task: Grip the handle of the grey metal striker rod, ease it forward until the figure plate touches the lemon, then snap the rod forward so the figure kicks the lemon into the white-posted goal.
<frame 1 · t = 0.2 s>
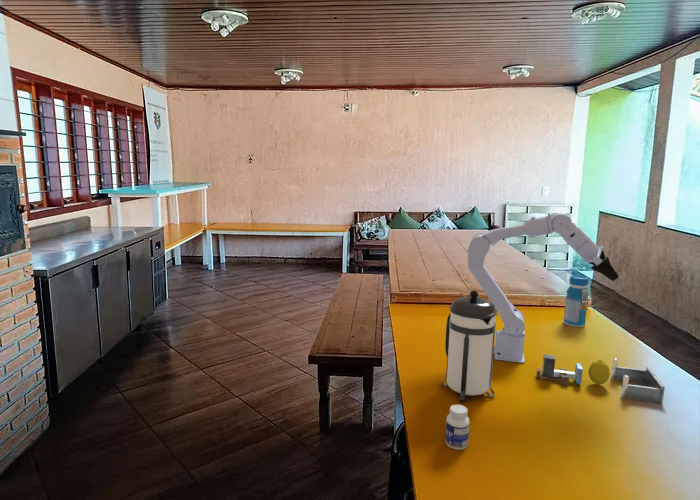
hand: (613, 275, 146), 31 cm above the table, tool tilted 45°, fingers open, 7 cm apart
coffee press: (463, 390, 137), on the table
striker rod: (561, 368, 144), point 4 cm above the table, slide at 0.0 cm
pill bottle: (456, 444, 111), on the table
goal: (635, 390, 139), on the table
beverage bottle: (574, 324, 196), on the table
lemon: (597, 385, 141), on the table
track: (552, 378, 145), on the table
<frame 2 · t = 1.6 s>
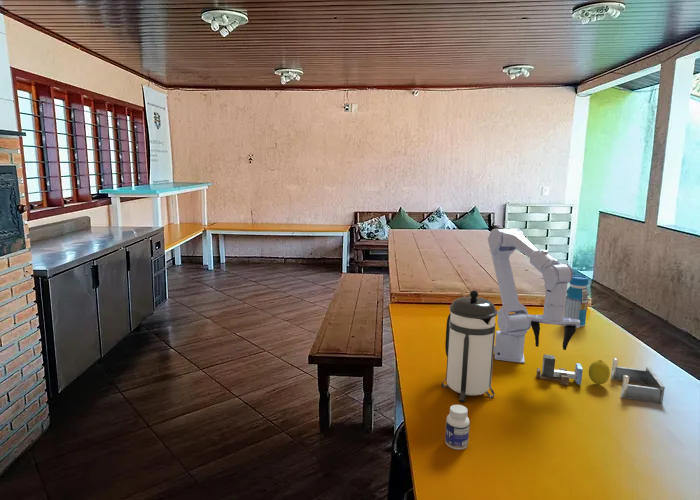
hand: (550, 347, 143), 10 cm above the table, tool pointing down, fingers open, 7 cm apart
nothing on the table moved.
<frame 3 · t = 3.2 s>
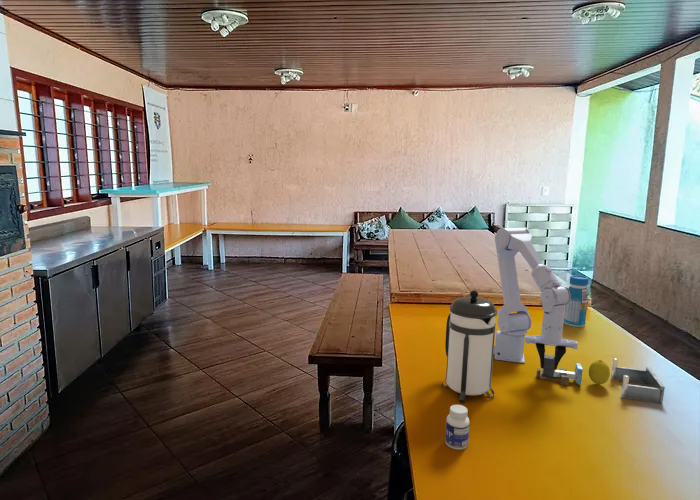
hand: (548, 367, 145), 3 cm above the table, tool pointing down, fingers closed on striker rod, 3 cm apart
striker rod: (561, 368, 144), point 4 cm above the table, slide at 0.0 cm, touching gripper
everything else where it was.
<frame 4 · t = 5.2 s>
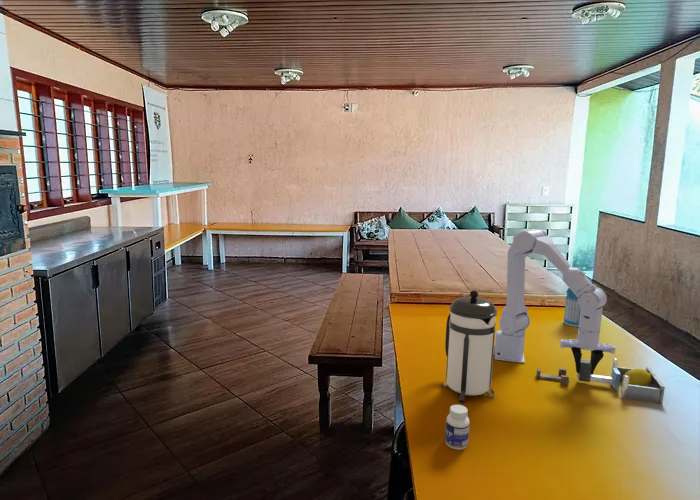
hand: (584, 372, 142), 3 cm above the table, tool pointing down, fingers closed on striker rod, 3 cm apart
striker rod: (598, 373, 141), point 4 cm above the table, slide at 10.0 cm, touching gripper
lemon: (621, 383, 139), point 1 cm above the table, touching goal
everything else where it was.
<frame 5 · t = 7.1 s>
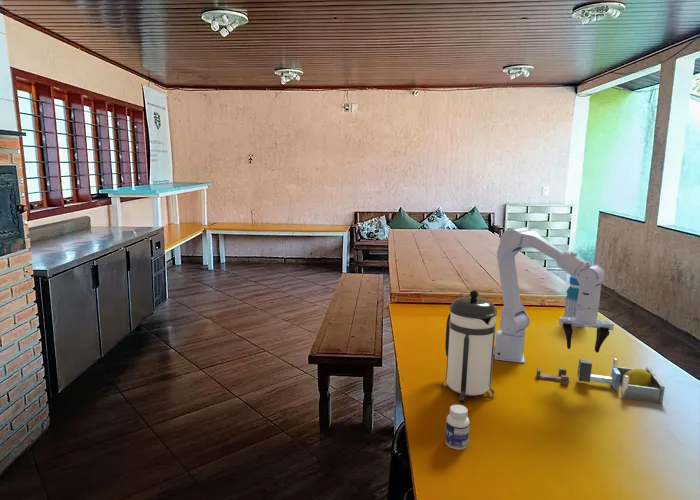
hand: (582, 349, 143), 10 cm above the table, tool pointing down, fingers open, 7 cm apart
striker rod: (598, 373, 141), point 4 cm above the table, slide at 10.0 cm
everything else where it was.
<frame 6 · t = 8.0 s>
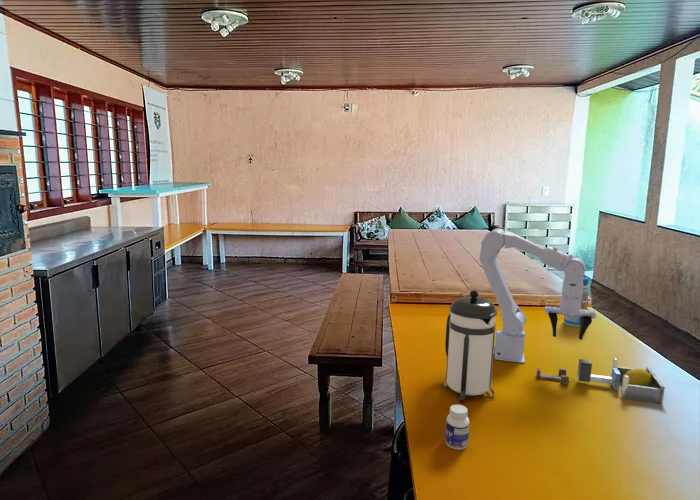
hand: (567, 337, 151), 10 cm above the table, tool pointing down, fingers open, 7 cm apart
nothing on the table moved.
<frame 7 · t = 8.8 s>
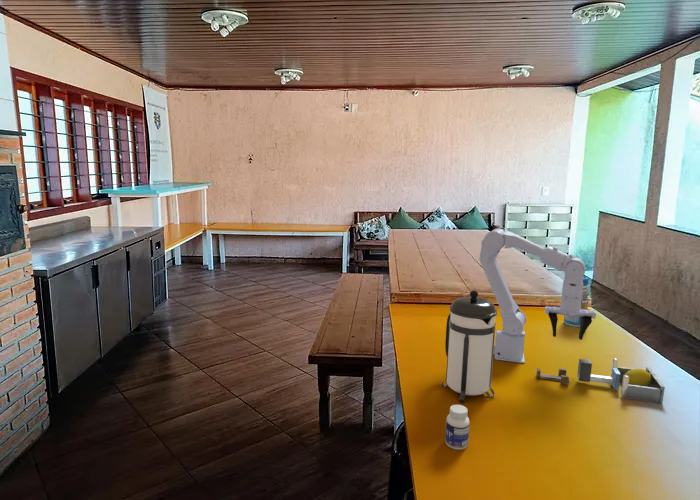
hand: (567, 337, 151), 10 cm above the table, tool pointing down, fingers open, 7 cm apart
nothing on the table moved.
at the end: lemon inside the target area (4.0 cm from its centre), point 1.4 cm above the table; striker rod slide at 10.0 cm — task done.
